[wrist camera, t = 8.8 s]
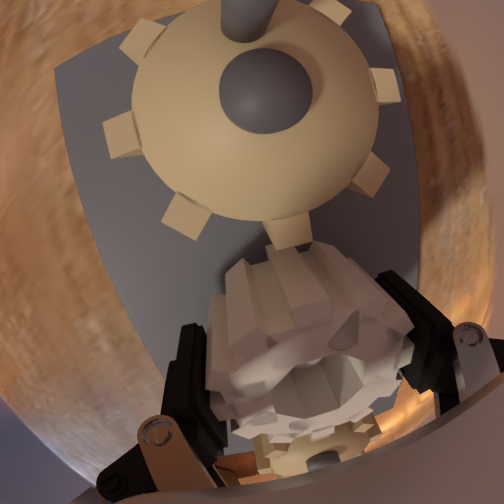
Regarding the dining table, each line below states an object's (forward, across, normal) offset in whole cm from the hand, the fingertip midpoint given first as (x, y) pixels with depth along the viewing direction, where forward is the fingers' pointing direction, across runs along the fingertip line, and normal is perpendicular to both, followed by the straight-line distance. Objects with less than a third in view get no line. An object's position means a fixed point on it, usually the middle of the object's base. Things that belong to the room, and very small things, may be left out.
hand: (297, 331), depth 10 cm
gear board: (+3, 0, 0) cm, 3 cm away
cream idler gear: (+1, 0, 0) cm, 1 cm away
